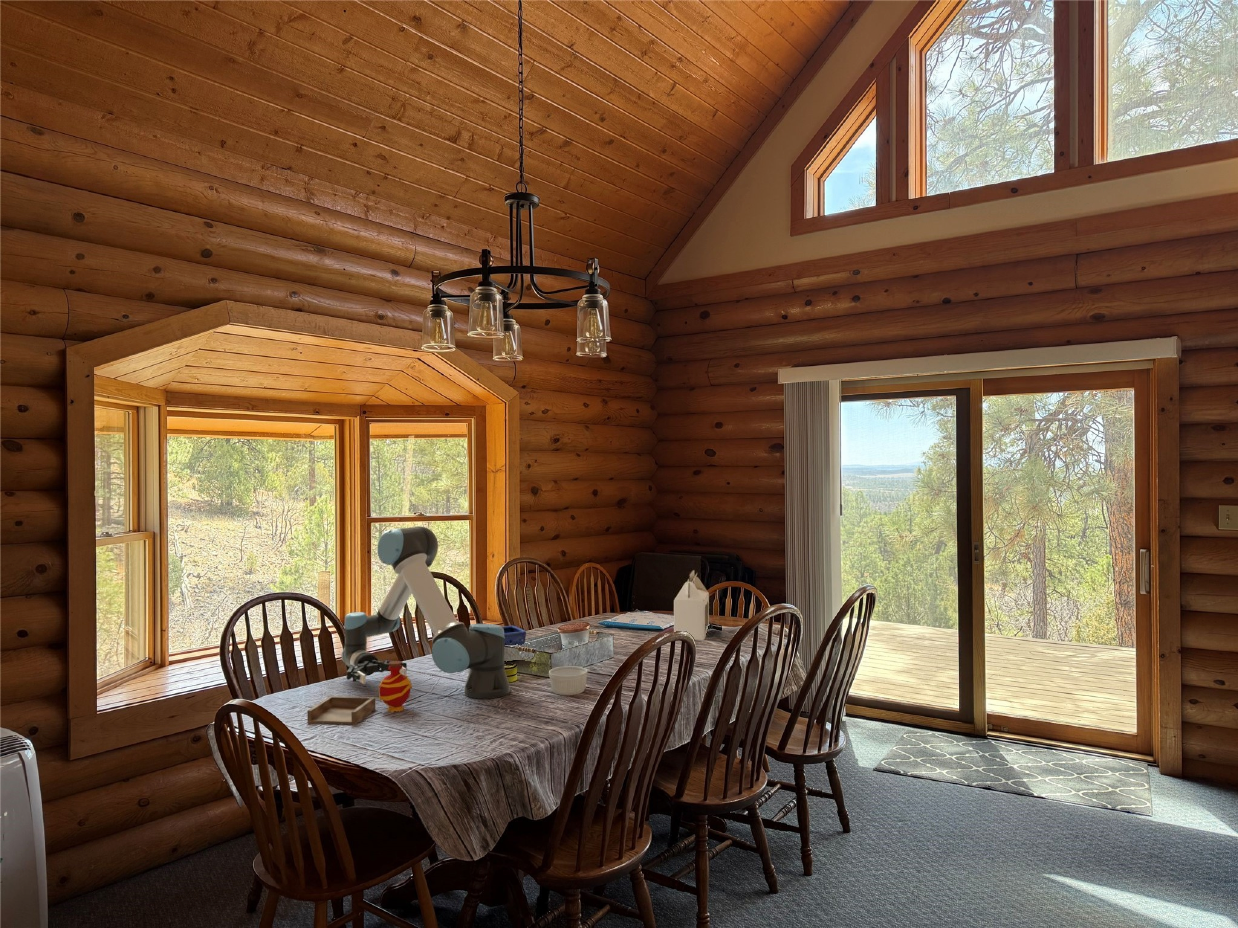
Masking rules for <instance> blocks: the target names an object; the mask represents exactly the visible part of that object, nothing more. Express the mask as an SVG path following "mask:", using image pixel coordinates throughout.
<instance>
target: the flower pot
mask: <svg viewBox="0 0 1238 928" xmlns="http://www.w3.org/2000/svg"><path fill="white" fill-rule="evenodd" d="M501 627H502V628H503V629H504V637H505V639H504V647H505V645H516V644H518V645H522V644H524V645H525V643H526V639H527V638H526V637H527V632H526V630H524V629H522V628H520V627H518V626H516V625H505V626H501Z"/></svg>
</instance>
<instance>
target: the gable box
mask: <svg viewBox="0 0 1238 928" xmlns="http://www.w3.org/2000/svg"><path fill="white" fill-rule="evenodd" d="M697 575H698V573H696V574H695V569H693V570H692V571H691V572H689V575H688V579H687V581H685V583H683V585H682V588H681V589H680V590H679V592H678V593H677V595H676V597H674V599H673V633H674V632H676V631H687V632H688V633H690V634H691V635H692V636H693V637H694V639H695V640H694V641H704V640H705V639H706V637H707V635H706V633H707V629H708V626H709V627H710V620H709V619H710V614H709V613H710V612H709V611H710V610H709V609H710V605H709V604H710V602H709V600H710V597H709V596H710V592H708V591H709V590H707V588H706V586H705V585H704V584H703V583H702V581H701V579H700V578H699V577H698V576H697ZM705 624H707V626H706V628H705ZM707 634H708V633H707Z"/></svg>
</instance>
